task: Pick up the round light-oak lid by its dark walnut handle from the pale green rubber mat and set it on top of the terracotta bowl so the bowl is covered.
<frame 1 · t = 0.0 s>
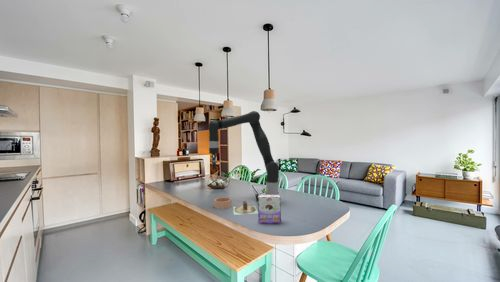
hand: (214, 168, 164), 29 cm above the table, tool pointing down, fingers open, 8 cm apart
bowl: (222, 206, 163), on the table
mat: (245, 210, 154), on the table
candy box: (269, 222, 133), on the table
lid: (245, 206, 154), on the mat
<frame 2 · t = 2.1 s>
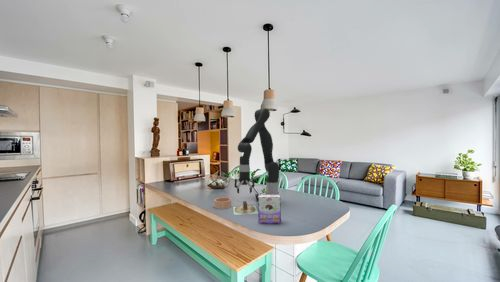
hand: (244, 193, 154), 13 cm above the table, tool pointing down, fingers open, 8 cm apart
nothing on the table moved.
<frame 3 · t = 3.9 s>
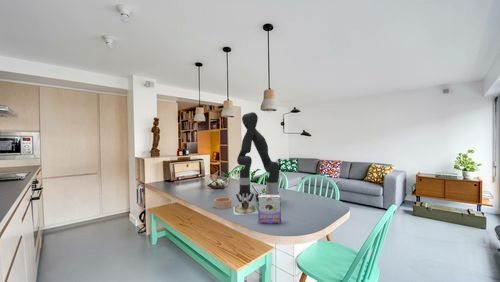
hand: (245, 207, 154), 2 cm above the table, tool pointing down, fingers closed on lid
lid: (245, 205, 154), point 4 cm above the table, touching gripper
everything else where it was.
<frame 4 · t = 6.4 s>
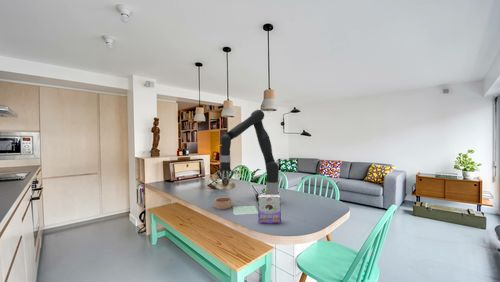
hand: (225, 184, 161), 18 cm above the table, tool pointing down, fingers closed on lid, 2 cm apart
lid: (225, 182, 161), point 19 cm above the table, tilted 9°, touching gripper
everything else where it was.
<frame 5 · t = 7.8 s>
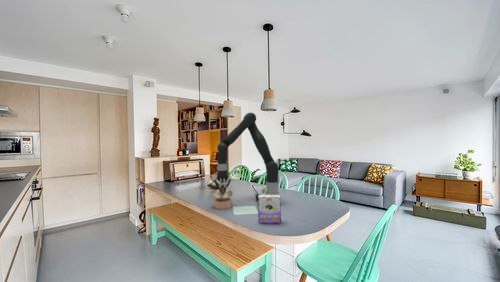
hand: (222, 192, 163), 11 cm above the table, tool pointing down, fingers closed on lid, 2 cm apart
lid: (222, 190, 163), point 12 cm above the table, tilted 10°, touching gripper
everything else where it was.
when the fingers open (9 cm above the table, at t = 8.9 s): lid drops 2 cm, resting on bowl.
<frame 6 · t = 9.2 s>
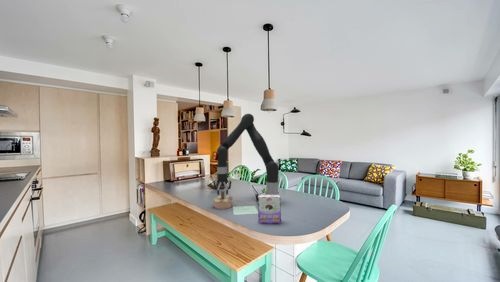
hand: (222, 194, 163), 9 cm above the table, tool pointing down, fingers open, 5 cm apart
lid: (222, 196, 163), on the bowl, point 8 cm above the table
everything else where it was.
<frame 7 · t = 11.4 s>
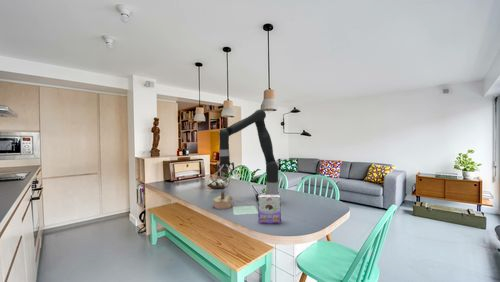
hand: (225, 176, 165), 23 cm above the table, tool pointing down, fingers open, 8 cm apart
nothing on the table moved.
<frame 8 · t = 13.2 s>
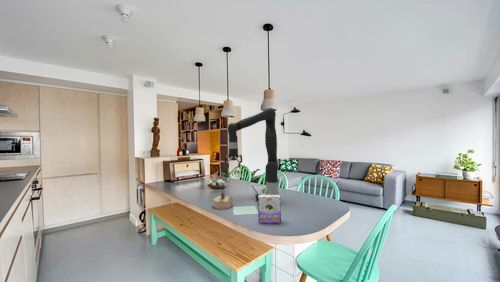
hand: (233, 167, 174), 28 cm above the table, tool pointing down, fingers open, 8 cm apart
nothing on the table moved.
at the end: lid 0.1 cm off-centre on the bowl, point 8.2 cm above the bowl's base; lid tilted 0°; the gripper is holding nothing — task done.
